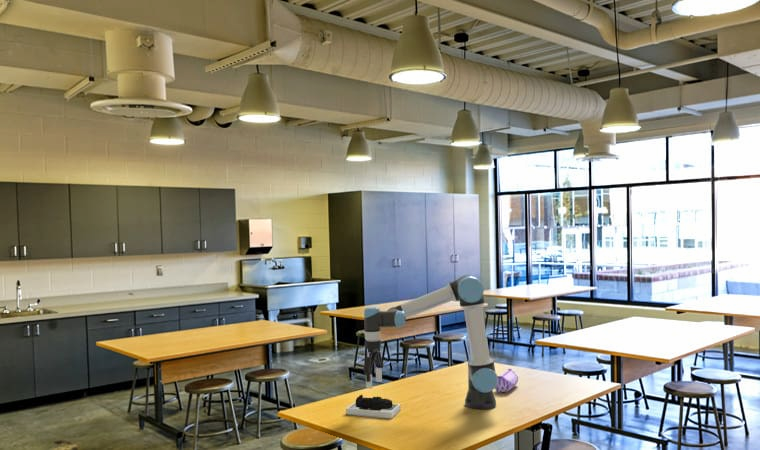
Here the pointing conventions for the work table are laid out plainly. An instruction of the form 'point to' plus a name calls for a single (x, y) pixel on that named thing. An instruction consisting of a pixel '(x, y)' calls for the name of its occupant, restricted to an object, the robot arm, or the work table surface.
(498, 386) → the pencil case
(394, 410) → the tray
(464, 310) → the robot arm
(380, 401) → the night vision scope
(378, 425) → the work table surface
